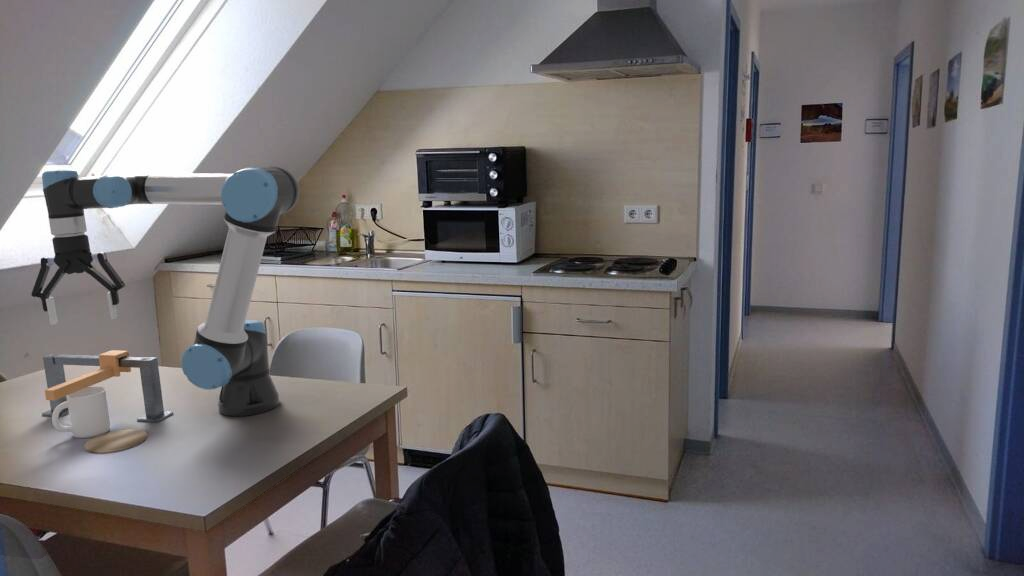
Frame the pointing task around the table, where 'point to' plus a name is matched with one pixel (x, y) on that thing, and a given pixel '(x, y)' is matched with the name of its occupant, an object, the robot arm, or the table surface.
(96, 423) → the mug
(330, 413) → the table surface
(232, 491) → the table surface
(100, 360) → the orange bar
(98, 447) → the coaster
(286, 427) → the table surface
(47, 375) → the rail frame
